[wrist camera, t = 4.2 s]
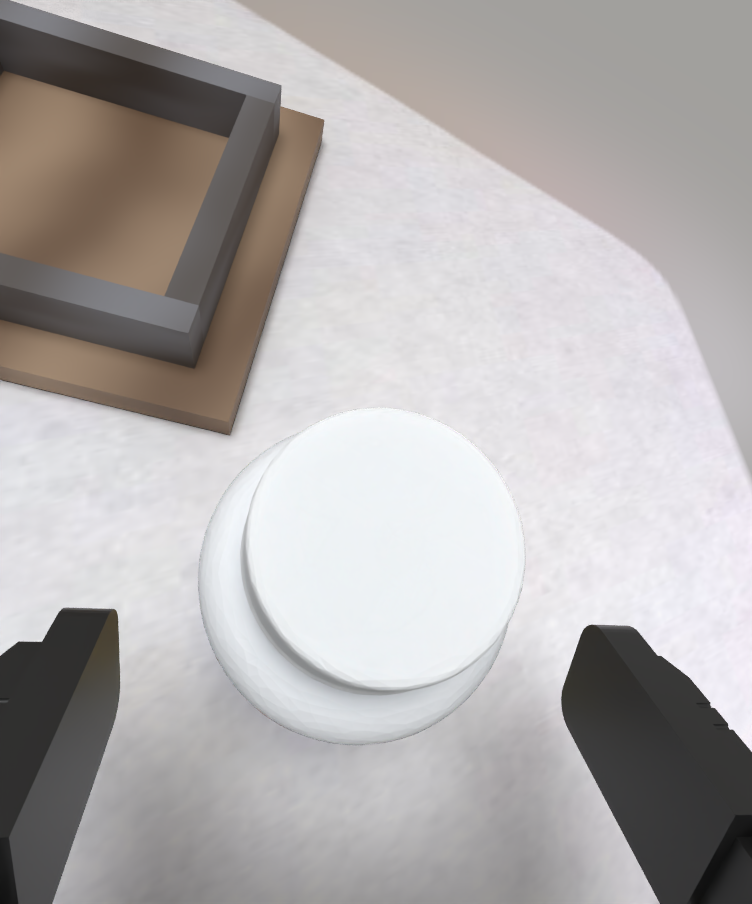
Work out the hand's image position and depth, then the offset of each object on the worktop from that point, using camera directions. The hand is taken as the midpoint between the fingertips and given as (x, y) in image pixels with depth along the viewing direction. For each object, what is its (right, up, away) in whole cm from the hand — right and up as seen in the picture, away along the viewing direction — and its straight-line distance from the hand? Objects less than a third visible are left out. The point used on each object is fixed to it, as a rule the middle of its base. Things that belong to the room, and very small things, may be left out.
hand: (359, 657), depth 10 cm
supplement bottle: (-2, -1, +7) cm, 8 cm away
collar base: (-10, +12, +11) cm, 19 cm away
